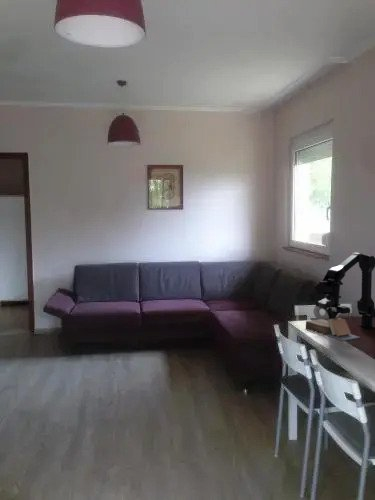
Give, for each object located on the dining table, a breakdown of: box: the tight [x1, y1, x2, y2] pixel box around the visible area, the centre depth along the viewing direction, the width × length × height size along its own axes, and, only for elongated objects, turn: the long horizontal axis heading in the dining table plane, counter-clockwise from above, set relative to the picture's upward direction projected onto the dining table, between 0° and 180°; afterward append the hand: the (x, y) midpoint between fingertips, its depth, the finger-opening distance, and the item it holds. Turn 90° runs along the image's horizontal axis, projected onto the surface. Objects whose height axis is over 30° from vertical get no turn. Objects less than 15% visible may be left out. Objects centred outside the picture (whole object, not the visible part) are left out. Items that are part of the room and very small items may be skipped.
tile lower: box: [326, 317, 342, 335], centre depth 231 cm, size 8×8×2 cm
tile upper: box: [331, 318, 352, 337], centre depth 229 cm, size 8×8×2 cm
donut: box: [312, 305, 329, 320], centre depth 262 cm, size 10×4×10 cm, turn 72°
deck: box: [305, 319, 332, 336], centre depth 239 cm, size 12×14×4 cm
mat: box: [325, 333, 361, 342], centre depth 228 cm, size 12×11×1 cm
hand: (331, 323), depth 234 cm, fingers closed
